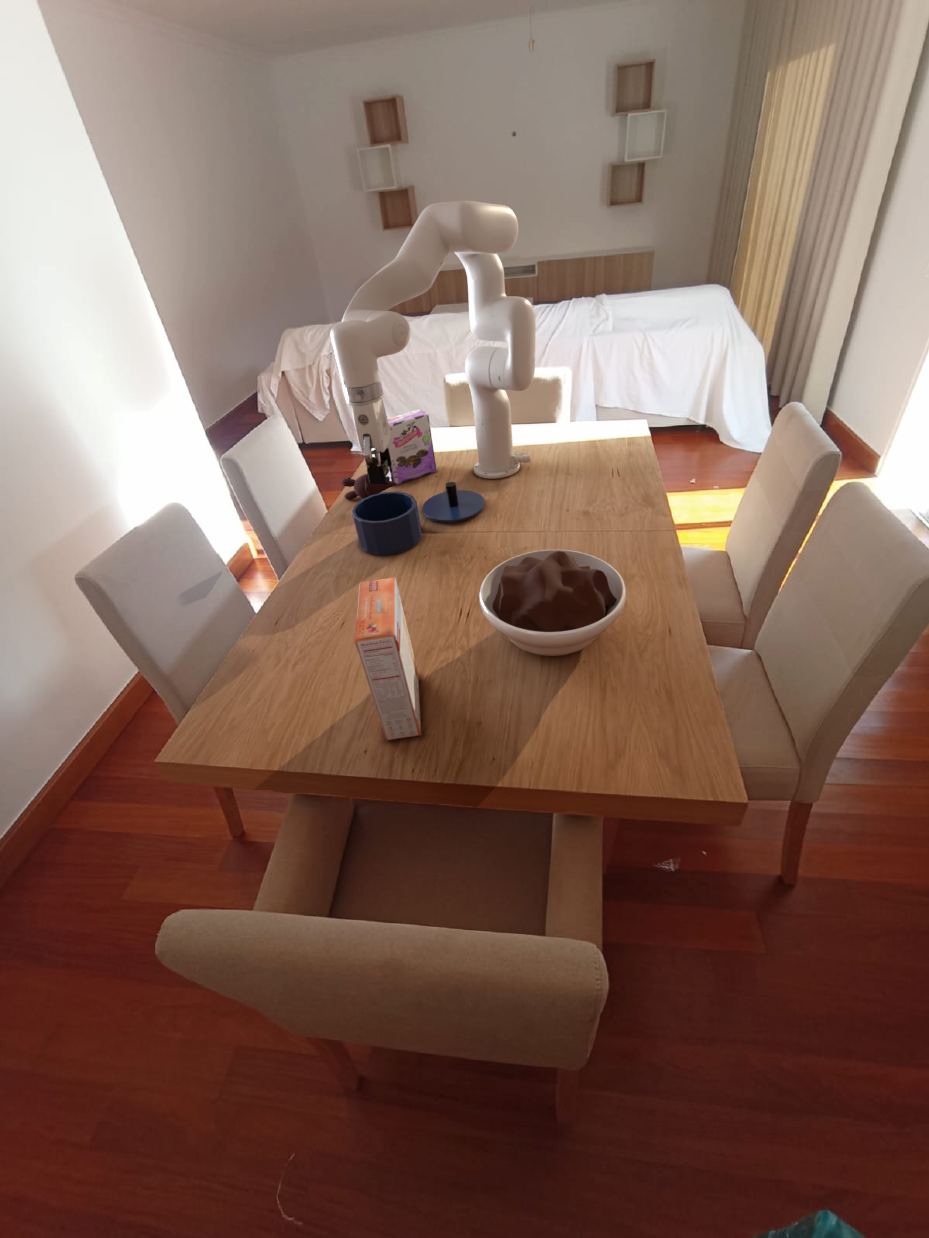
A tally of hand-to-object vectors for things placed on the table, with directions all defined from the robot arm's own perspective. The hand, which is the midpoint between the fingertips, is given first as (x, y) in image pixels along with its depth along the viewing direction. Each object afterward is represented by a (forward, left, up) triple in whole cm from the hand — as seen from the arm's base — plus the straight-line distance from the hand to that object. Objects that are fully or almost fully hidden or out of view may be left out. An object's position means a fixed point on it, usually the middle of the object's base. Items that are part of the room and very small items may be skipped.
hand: (381, 474), depth 128 cm
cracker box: (-9, +52, -18) cm, 55 cm away
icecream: (+11, -24, -18) cm, 32 cm away
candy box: (+2, -36, -18) cm, 41 cm away
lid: (-12, -15, -17) cm, 26 cm away
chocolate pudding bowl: (-34, +34, -18) cm, 51 cm away
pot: (+2, -2, -17) cm, 18 cm away
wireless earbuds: (0, +1, -1) cm, 1 cm away
